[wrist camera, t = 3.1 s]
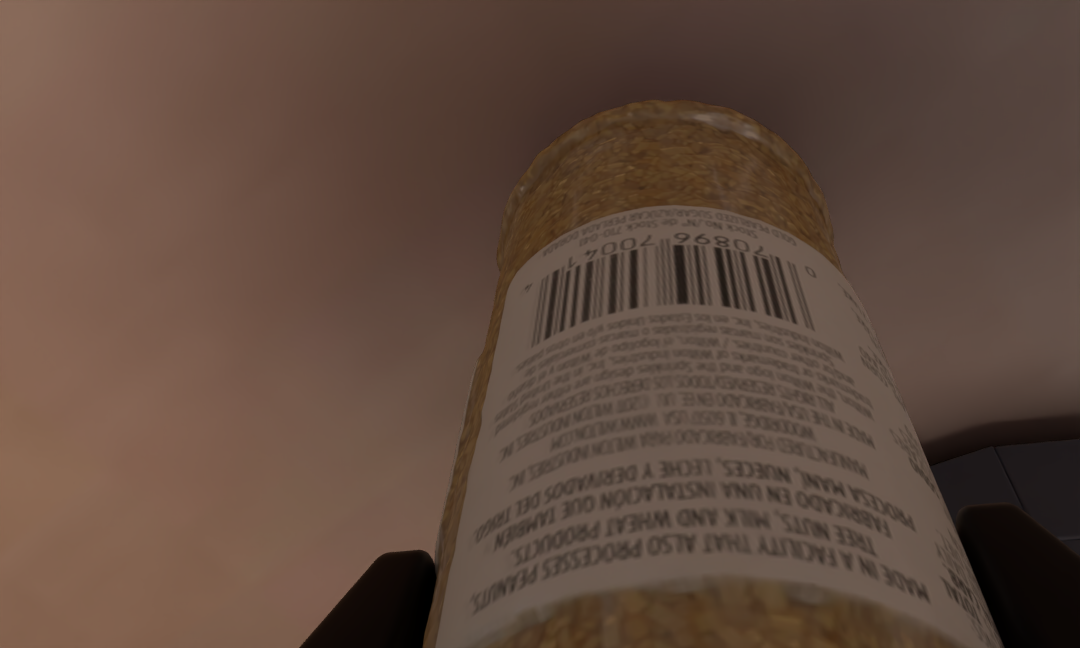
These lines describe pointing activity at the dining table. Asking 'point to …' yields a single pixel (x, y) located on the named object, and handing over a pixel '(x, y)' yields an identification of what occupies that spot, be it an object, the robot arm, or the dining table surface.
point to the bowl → (1019, 483)
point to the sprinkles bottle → (688, 417)
